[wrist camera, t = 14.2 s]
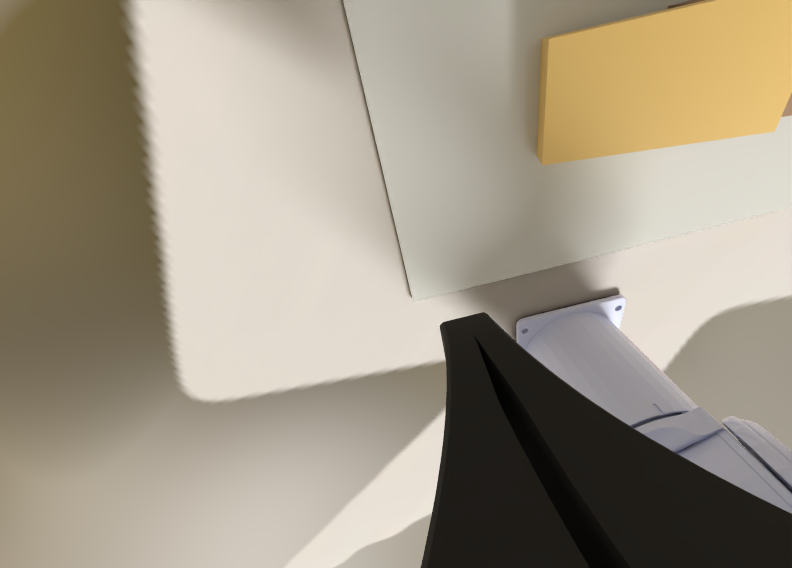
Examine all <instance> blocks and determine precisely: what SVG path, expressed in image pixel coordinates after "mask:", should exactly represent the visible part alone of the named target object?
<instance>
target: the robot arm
mask: <svg viewBox="0 0 792 568" xmlns="http://www.w3.org/2000/svg"><path fill="white" fill-rule="evenodd" d="M625 303H626V298H625V297H624V296H622V295H615V296H611V297H607V298H603V299H599V300H595V301H591V302H587V303H583V304H578V305H574V306H570V307H566V308H562V309H558V310H554V311H550V312H546V313H542V314H538V315H534V316H530V317H526V318H522V319H520V320H519V321H518V322H517V324H516V341H515V340H514V339H512V338H511V337H510V336H509V335H508V334H507V333H506V332H505V331H504V330H503V329H502V328H501V327H500V326H499V325H497V324H496V323H495V322H494V321H493V320H492V319H491V318H490V317H489V315H488V314H486V313H484V312H483V313H479V314H475V315H471V316H467V317H463V318H458V319H454V320H450V321H446V322H443V323H442V324H441V325H440V330H441V336H442V341H443V347H444V352H445V358H446V367H447V397H446V417H445V429H444V439H443V447H442V456H441V463H440V470H439V476H438V483H437V489H436V495H435V501H434V506H433V512H432V517H431V521H430V526H429V531H428V536H427V541H426V546H425V551H424V556H423V560H422V565H421V568H792V451H791V450H790V449H789V448H787V447H786V446H785V445H784V444H783V443H781V442H780V441H779V440H778V439H777V438H775V437H774V436H773V435H772V434H770V433H769V432H768V431H767V430H765V429H764V428H762V427H761V426H760V425H758V424H757V423H755V422H753V421H748V420H743V419H740V420H739V419H738V418H736V417H734V416H729V417H726V418H724V419H723V420H721V422H722V423H723V424H724V425H725V427H727V428H728V430H729V431H730V432H731V433H732V434H733V435H734V436H735V437H736V438H737V439H738V441H739V442H740V443H741V444H742V445H743V446H744V447H745V448H746V449H747V450H746V449H745V448H744V447H743V446H742V445H741V444H740V443H739V442H738V441H737V440H736V439H735V438H734V437H732V435H731V434H729V433H728V432H727V431H726V430H725V429H724V428H723V427H722V426H721V425H720V424H719V423H718V422H717V421H716V420H715V419H714V418H713V417H712V416H711V415H710V414H709V413H708V412H707V411H706V410H705V409H704V408H702V407H698V406H697V405H696V404H695V403H694V402H693V401H692V400H691V399H690V398H689V397H688V396H687V395H685V393H684V392H682V391H681V389H680V388H679V387H678V386H676V385H675V384H674V383H673V382H672V381H671V380H670V379H669V378H668V377H667V376H666V375H665V374H664V373H663V372H662V371H661V370H660V369H659V368H658V367H657V366H656V365H655V364H654V363H653V362H652V361H651V360H650V359H649V358H648V357H647V356H646V355H645V354H644V353H643V352H642V351H641V350H640V349H639V348H638V347H637V346H636V345H635V344H634V343H633V342H632V341H630V340H629V339H628V338H627V337H626V336H625V335H624V334H623V333H622V332H621V331H620V330H619V327H620V323H621V319H622V315H623V311H624V307H625ZM523 329H524V330H523Z"/></svg>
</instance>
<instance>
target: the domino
mask: <svg viewBox="0 0 792 568" xmlns="http://www.w3.org/2000/svg"><path fill="white" fill-rule="evenodd" d="M791 93H792V0H705V1H700V2H696V3H692V4H687V5H683V6H679V7H675V8H670V9H666V10H662V11H657V12H653V13H649V14H645V15H640V16H636V17H632V18H627V19H623V20H619V21H615V22H610V23H606V24H602V25H598V26H593V27H589V28H585V29H580V30H576V31H572V32H568V33H563V34H559V35H555V36H550V37H546V38H542V39H541V59H540V83H539V106H538V130H537V153H536V156H537V158H538V159H539V161H540V162H541V164H542V165H548V164H555V163H562V162H569V161H576V160H583V159H590V158H597V157H604V156H610V155H617V154H624V153H631V152H638V151H645V150H652V149H659V148H666V147H672V146H679V145H686V144H693V143H700V142H707V141H714V140H721V139H727V138H734V137H741V136H748V135H755V134H762V133H769V132H775V130H776V128H777V125H778V123H779V121H780V118H781V116H782V114H783V111H784V109H785V107H786V105H787V102H788V100H789V98H790V95H791Z"/></svg>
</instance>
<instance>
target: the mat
mask: <svg viewBox="0 0 792 568" xmlns="http://www.w3.org/2000/svg"><path fill="white" fill-rule="evenodd" d="M686 1H691V0H343V3H344V7H345V12H346V16H347V20H348V25H349V29H350V33H351V37H352V42H353V46H354V50H355V55H356V59H357V63H358V67H359V72H360V76H361V80H362V85H363V89H364V93H365V98H366V102H367V106H368V110H369V115H370V119H371V123H372V128H373V132H374V136H375V141H376V145H377V149H378V153H379V158H380V162H381V166H382V171H383V175H384V179H385V184H386V188H387V192H388V196H389V201H390V205H391V209H392V214H393V218H394V222H395V226H396V231H397V235H398V239H399V244H400V248H401V252H402V257H403V261H404V265H405V269H406V274H407V278H408V282H409V287H410V291H411V295H412V299H413V302H416V301H420V300H424V299H428V298H432V297H436V296H440V295H444V294H448V293H452V292H456V291H460V290H464V289H468V288H472V287H476V286H480V285H484V284H488V283H492V282H496V281H501V280H505V279H509V278H513V277H517V276H521V275H525V274H529V273H533V272H537V271H541V270H545V269H549V268H553V267H557V266H561V265H565V264H569V263H573V262H577V261H581V260H585V259H589V258H593V257H597V256H601V255H605V254H609V253H614V252H618V251H622V250H626V249H630V248H634V247H638V246H642V245H646V244H650V243H654V242H658V241H662V240H666V239H670V238H674V237H678V236H682V235H686V234H690V233H694V232H698V231H702V230H706V229H710V228H714V227H718V226H722V225H726V224H731V223H735V222H739V221H743V220H747V219H751V218H755V217H759V216H763V215H767V214H771V213H775V212H779V211H783V210H787V209H791V208H792V115H791V116H785V117H781V118H780V121H779V123H778V125H777V128H776V130H775V132H769V133H762V134H755V135H748V136H741V137H734V138H727V139H721V140H714V141H707V142H700V143H693V144H686V145H679V146H672V147H666V148H659V149H652V150H645V151H638V152H631V153H624V154H617V155H610V156H604V157H597V158H590V159H583V160H576V161H569V162H562V163H555V164H548V165H542V164H541V162H540V161H539V159H538V158H537V156H536V153H537V130H538V106H539V83H540V59H541V39H542V38H546V37H550V36H555V35H559V34H563V33H568V32H572V31H576V30H580V29H585V28H589V27H593V26H598V25H602V24H606V23H610V22H615V21H619V20H623V19H627V18H632V17H636V16H640V15H645V14H649V13H653V12H657V11H662V10H666V9H668V6H670V5H674V4H678V3H682V2H686Z"/></svg>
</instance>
